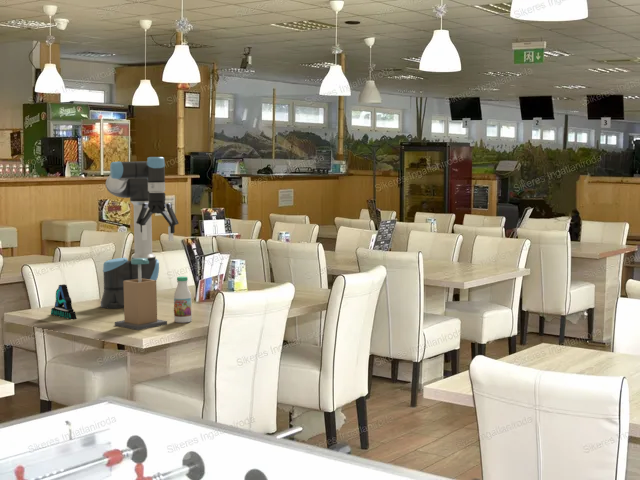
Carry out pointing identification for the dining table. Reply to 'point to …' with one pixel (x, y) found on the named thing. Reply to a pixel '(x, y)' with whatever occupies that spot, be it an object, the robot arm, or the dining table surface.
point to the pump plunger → (139, 265)
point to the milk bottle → (182, 302)
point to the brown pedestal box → (140, 305)
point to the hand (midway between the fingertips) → (157, 240)
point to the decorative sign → (61, 300)
